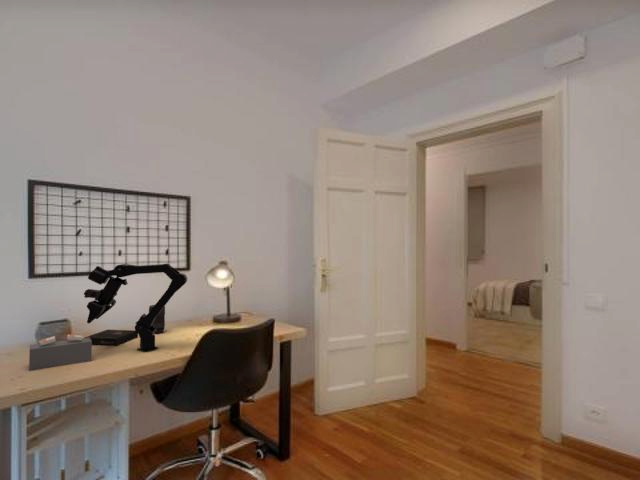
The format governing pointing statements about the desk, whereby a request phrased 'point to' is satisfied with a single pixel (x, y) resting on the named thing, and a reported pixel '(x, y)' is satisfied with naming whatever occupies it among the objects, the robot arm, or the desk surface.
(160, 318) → the dark grey tall block
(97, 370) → the desk surface
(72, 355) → the switch block
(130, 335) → the portable cd player
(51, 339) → the block
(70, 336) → the rocker
